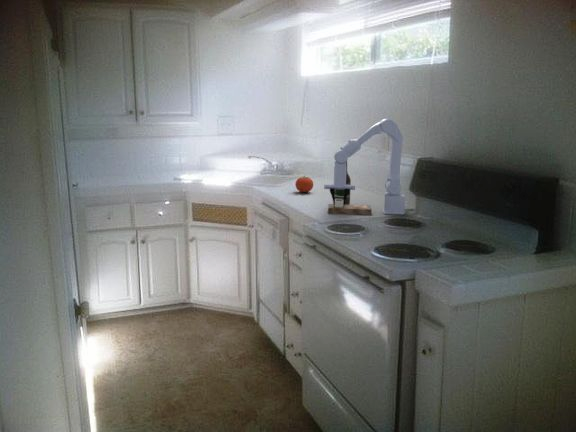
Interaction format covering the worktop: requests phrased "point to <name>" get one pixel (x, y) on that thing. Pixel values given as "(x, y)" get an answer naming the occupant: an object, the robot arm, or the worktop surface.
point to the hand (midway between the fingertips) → (338, 204)
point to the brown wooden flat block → (350, 209)
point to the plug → (338, 203)
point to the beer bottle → (340, 192)
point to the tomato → (304, 184)
